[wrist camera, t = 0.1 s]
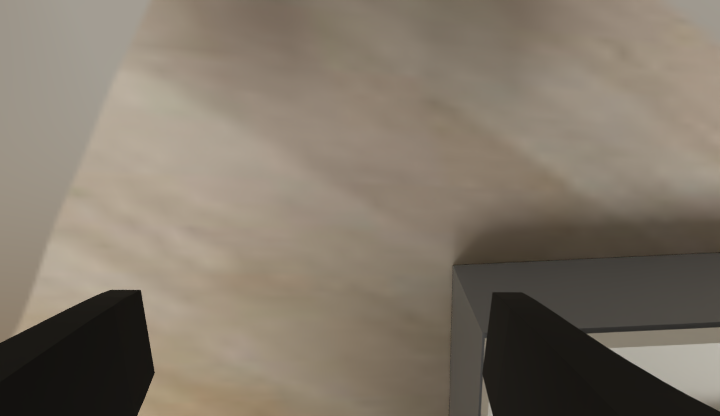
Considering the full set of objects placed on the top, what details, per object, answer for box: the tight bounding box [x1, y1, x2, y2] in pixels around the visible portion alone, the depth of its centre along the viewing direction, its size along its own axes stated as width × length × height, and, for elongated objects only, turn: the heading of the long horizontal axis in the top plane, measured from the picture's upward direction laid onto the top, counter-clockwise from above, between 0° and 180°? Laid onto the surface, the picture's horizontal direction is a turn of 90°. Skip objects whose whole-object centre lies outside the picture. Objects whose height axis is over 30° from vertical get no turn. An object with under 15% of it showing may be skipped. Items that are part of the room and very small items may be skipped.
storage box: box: [449, 253, 720, 416], centre depth 20 cm, size 12×13×5 cm
